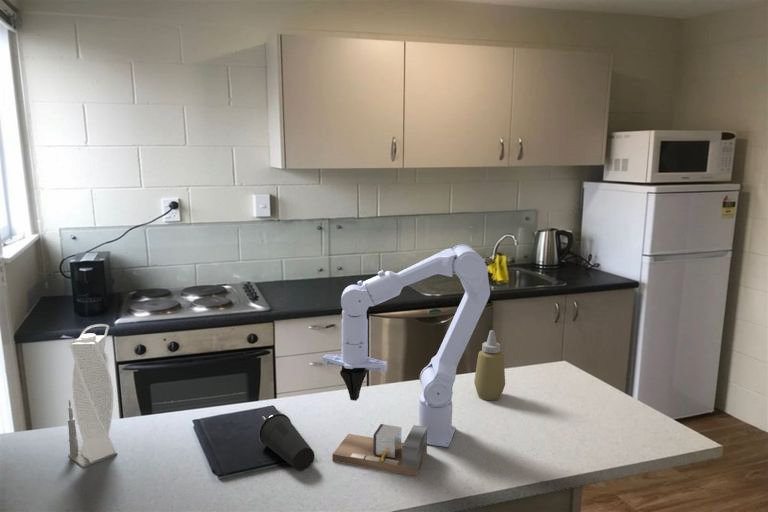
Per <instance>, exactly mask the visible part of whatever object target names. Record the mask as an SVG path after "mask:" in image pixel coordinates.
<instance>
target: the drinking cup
mask: <svg viewBox="0 0 768 512" xmlns="http://www.w3.org/2000/svg"><path fill="white" fill-rule="evenodd" d="M261 419H262V423H261V424H260V426H259V430H258V439H259V441H260V443H261V444H262V445H263V444H265V445H267V446H268V448H269V449H270V450H271V451H273V452H274V453H275V454H277V455H278V456H279V457H280V458H281V459H283V460H284V461H285V462H286V463H287V464H289V465H290V466H291V467H292V468H294V470H296V471H299V472H301V471H304V470H306V469H308V468H310V467H311V466H312V464H313V462H314V460H315V452H314V450H313V449H312V447H311V446H310V445H309V444H308V443H307V441H306V439H304V437H303V436H302V435H301V433H300V432H299V431H298V430H297V428H296V427H295V426H294V424H293V423H292V421H291V419H290V418H289V417H288V416H287V415H286V414H284V413H281V412H278V413H274V414H271V415H270V416H268V417H267V418H266V417H265V416H263V415H262V416H261ZM265 445H264V446H265ZM267 446H266V447H267Z"/></svg>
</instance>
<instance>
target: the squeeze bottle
mask: <svg viewBox="0 0 768 512" xmlns="http://www.w3.org/2000/svg"><path fill="white" fill-rule="evenodd" d="M496 338H497V337H496V332H495V330H493V329H491V330H489V333H488V336H487V339H486V341H484V342H483V343H481V345H482V346H481V348H482V349H481V350H480V351H479V352H478V355H477V361H476V367H475V376H474V382H473V383H474V386H475V390H476V393H477V396H478V398H480V399H481V400H482V399H483V400H486V401H496V400H499V399H500V398H501V396H502V394H503V391H504V389H505V386H506V373H505V372H506V371H505V358H504V356H505V355H504V353H503V352H502V351H501V343H499V342H497V339H496Z"/></svg>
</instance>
